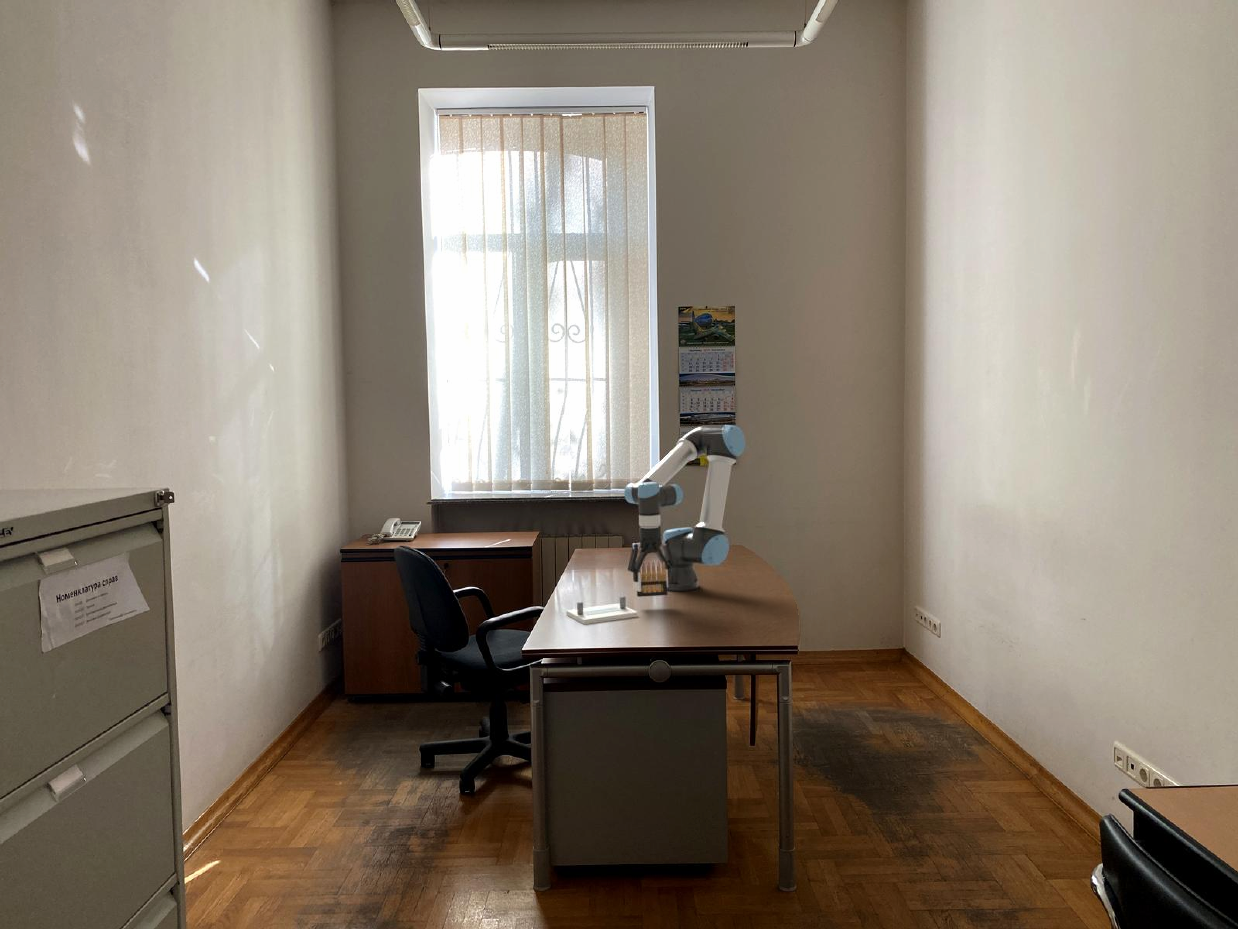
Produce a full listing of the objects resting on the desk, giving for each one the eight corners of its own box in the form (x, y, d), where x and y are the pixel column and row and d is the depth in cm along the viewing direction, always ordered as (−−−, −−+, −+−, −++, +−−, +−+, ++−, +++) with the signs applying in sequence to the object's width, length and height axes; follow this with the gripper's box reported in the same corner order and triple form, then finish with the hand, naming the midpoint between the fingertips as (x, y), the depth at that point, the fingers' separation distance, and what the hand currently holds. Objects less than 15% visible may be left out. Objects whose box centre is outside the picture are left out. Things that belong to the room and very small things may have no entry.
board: (618, 607, 304) (618, 592, 304) (638, 616, 291) (637, 600, 291) (566, 614, 296) (566, 599, 295) (583, 624, 282) (583, 607, 282)
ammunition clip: (637, 596, 302) (636, 563, 301) (636, 595, 304) (635, 562, 303) (667, 595, 303) (666, 561, 302) (666, 593, 305) (665, 560, 304)
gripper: (672, 521, 310) (674, 582, 312) (616, 528, 300) (618, 591, 302) (683, 524, 303) (685, 586, 305) (625, 531, 293) (628, 595, 295)
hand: (652, 588), depth 303 cm, fingers closed on ammunition clip, 10 cm apart
